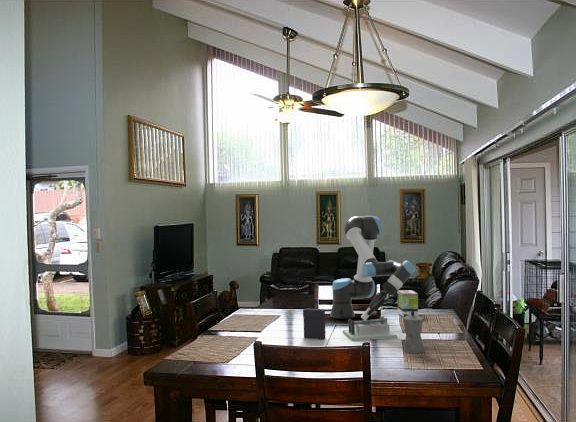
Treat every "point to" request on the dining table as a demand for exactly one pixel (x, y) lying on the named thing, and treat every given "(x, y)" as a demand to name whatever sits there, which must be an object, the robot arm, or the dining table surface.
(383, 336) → the board
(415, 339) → the coffeepot
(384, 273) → the robot arm
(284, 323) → the dining table surface
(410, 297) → the tea box
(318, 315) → the calculator
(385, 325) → the knife switch
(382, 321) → the lever
